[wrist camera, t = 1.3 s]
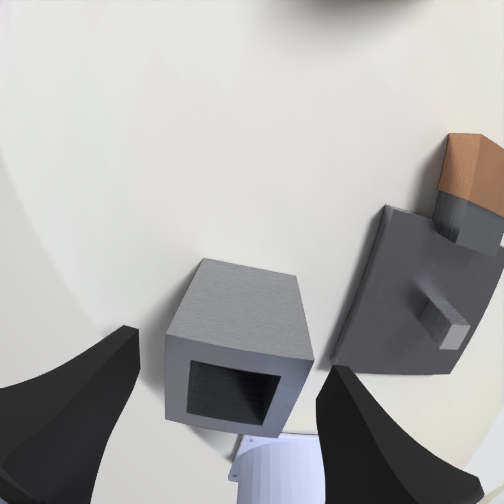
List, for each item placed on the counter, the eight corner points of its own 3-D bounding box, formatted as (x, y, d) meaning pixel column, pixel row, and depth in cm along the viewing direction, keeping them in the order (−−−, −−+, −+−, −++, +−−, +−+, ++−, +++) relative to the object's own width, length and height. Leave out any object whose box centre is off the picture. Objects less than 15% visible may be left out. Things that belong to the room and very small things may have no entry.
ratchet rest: (443, 365, 16) (464, 398, 12) (329, 359, 15) (341, 403, 12) (518, 174, 11) (557, 186, 8) (405, 113, 11) (447, 106, 7)
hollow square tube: (274, 347, 15) (277, 438, 10) (194, 332, 15) (165, 419, 9) (295, 276, 14) (314, 360, 8) (203, 258, 14) (165, 333, 8)
